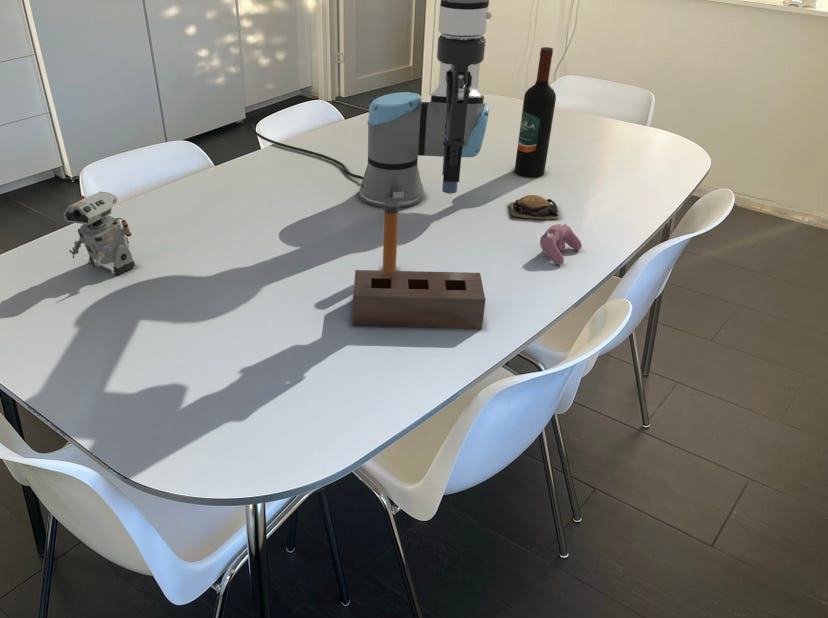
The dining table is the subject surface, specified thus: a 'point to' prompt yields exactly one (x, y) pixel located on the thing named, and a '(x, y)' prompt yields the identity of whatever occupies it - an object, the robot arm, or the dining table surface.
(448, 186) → the smoke-blue tube
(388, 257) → the amber tube
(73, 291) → the dining table surface
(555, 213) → the bread roll
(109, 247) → the figurine
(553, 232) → the video game controller
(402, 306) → the rack
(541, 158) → the wine bottle
